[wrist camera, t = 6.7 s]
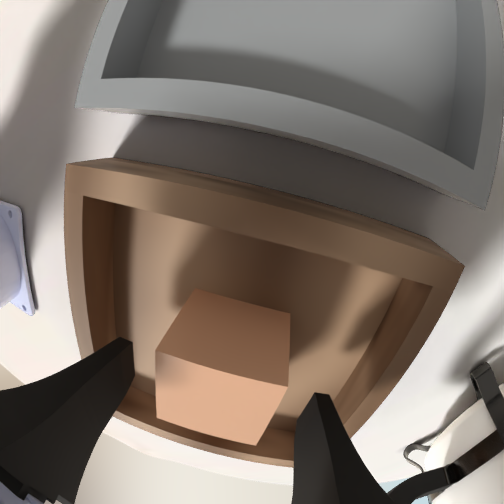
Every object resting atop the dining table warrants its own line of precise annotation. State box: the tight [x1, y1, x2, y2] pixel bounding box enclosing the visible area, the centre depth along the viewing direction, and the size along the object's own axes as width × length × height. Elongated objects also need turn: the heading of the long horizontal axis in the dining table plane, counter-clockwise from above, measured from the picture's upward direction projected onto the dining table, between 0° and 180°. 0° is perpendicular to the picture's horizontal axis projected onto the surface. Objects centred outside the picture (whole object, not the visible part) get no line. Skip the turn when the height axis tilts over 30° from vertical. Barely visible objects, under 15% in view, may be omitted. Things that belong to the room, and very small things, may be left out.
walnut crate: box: [64, 158, 465, 468], centre depth 11 cm, size 14×14×3 cm
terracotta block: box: [155, 288, 290, 446], centre depth 10 cm, size 4×4×4 cm
